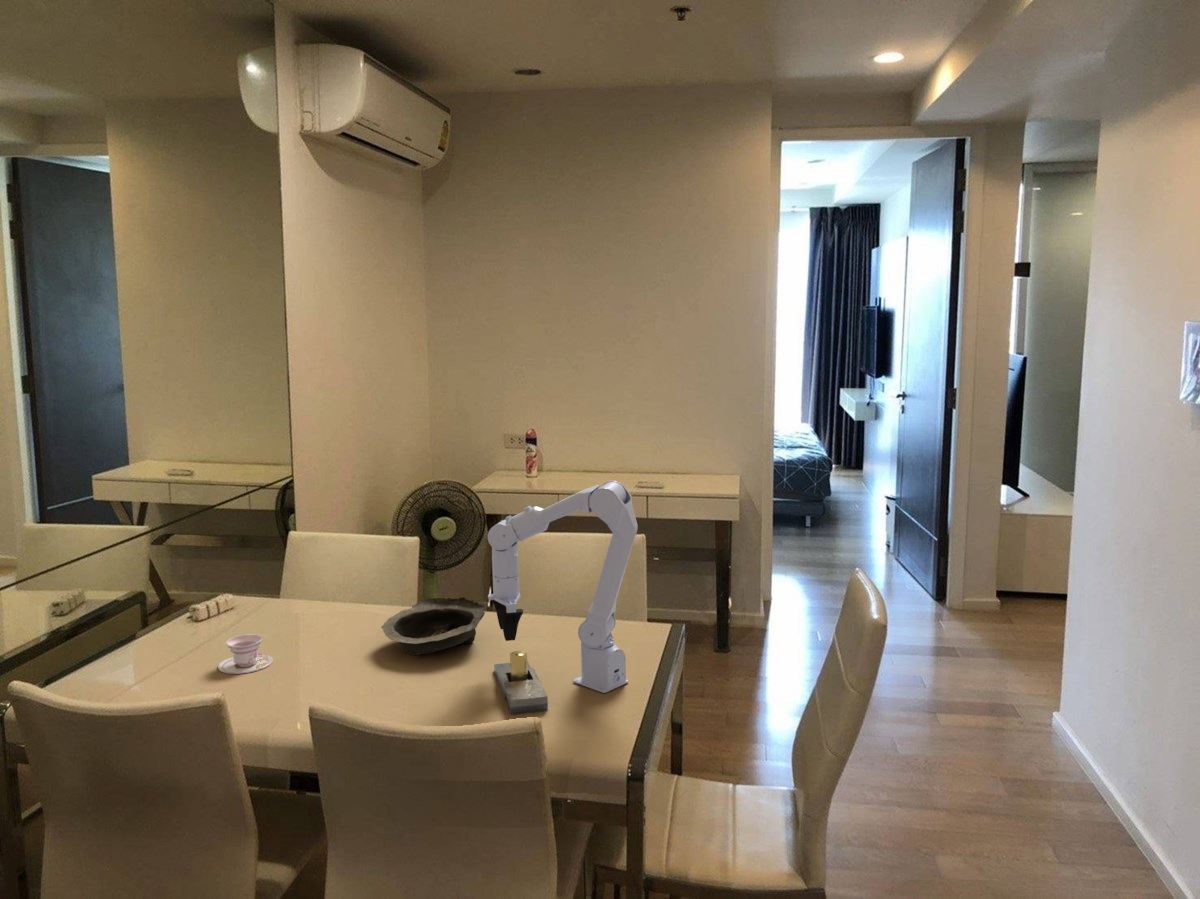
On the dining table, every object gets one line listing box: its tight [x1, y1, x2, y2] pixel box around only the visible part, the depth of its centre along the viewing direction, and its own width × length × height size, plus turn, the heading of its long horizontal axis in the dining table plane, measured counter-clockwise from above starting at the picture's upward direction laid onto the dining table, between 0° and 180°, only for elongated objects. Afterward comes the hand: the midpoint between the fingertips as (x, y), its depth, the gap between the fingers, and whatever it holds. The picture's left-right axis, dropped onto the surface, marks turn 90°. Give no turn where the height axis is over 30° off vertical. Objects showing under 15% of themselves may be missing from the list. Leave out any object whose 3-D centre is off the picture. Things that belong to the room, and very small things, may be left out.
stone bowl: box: [380, 596, 486, 656], centre depth 225 cm, size 25×25×9 cm
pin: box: [509, 650, 528, 682], centre depth 198 cm, size 4×4×8 cm
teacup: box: [217, 633, 274, 675], centre depth 215 cm, size 12×12×6 cm
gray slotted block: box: [493, 660, 549, 716], centre depth 198 cm, size 24×8×3 cm, turn 14°
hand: (507, 634), depth 205 cm, fingers open, 7 cm apart
